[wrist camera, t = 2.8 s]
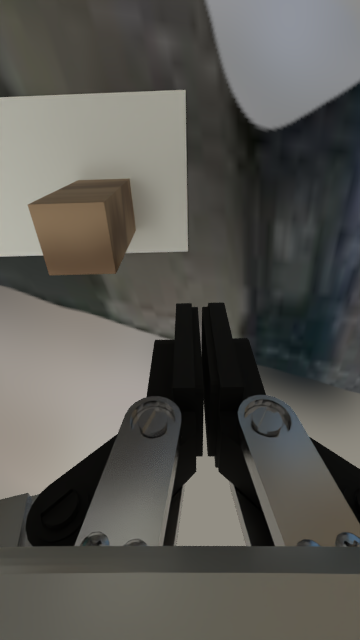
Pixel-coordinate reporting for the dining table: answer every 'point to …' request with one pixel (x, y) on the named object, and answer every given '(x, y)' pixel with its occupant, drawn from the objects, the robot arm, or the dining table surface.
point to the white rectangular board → (95, 160)
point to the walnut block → (85, 226)
